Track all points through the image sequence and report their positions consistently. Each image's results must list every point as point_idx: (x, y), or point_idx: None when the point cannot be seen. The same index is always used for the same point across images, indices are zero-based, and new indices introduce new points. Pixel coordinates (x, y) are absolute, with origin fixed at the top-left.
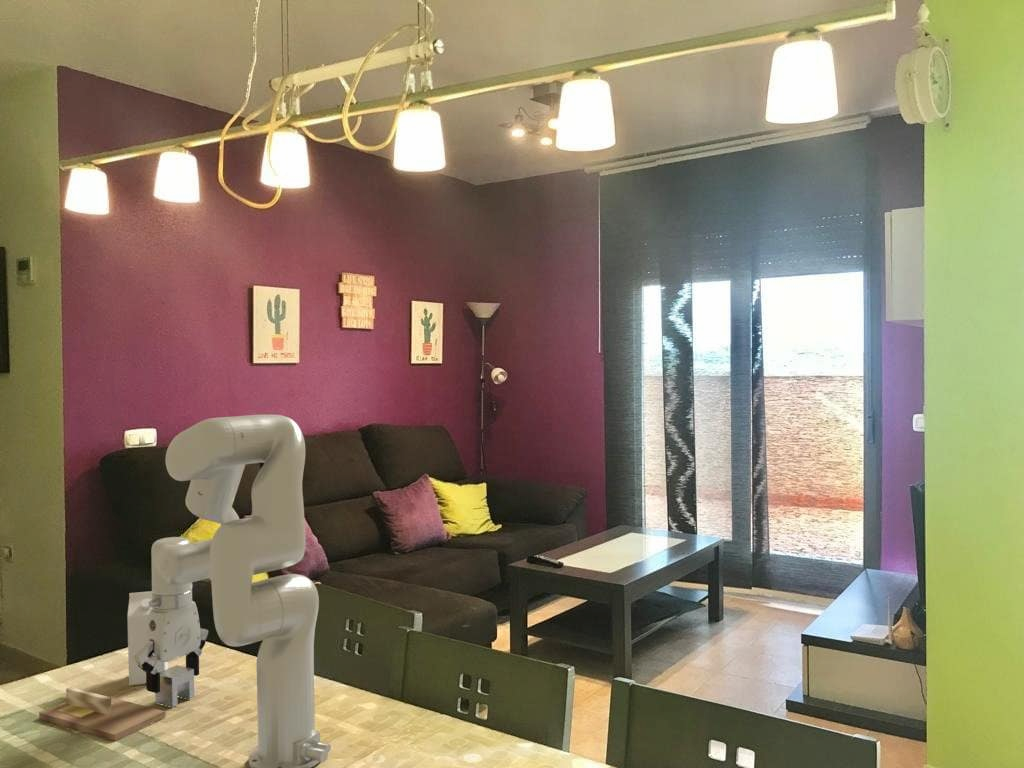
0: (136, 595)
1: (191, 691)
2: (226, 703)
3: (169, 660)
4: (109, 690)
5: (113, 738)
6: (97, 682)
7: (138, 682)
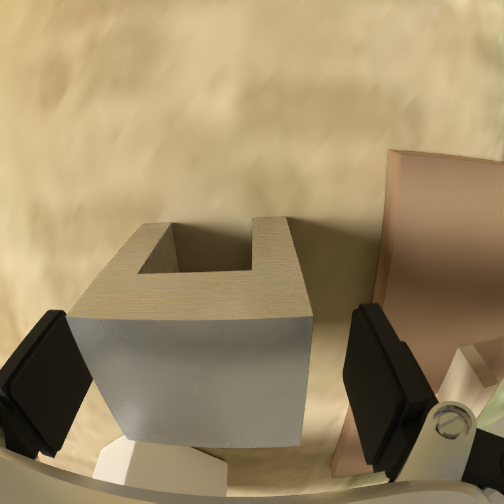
0: None
1: (146, 238)
2: (103, 23)
3: (372, 490)
4: (274, 470)
5: None
6: (253, 496)
7: (207, 459)
